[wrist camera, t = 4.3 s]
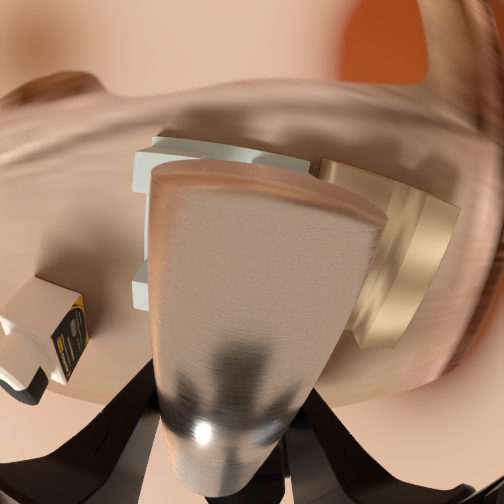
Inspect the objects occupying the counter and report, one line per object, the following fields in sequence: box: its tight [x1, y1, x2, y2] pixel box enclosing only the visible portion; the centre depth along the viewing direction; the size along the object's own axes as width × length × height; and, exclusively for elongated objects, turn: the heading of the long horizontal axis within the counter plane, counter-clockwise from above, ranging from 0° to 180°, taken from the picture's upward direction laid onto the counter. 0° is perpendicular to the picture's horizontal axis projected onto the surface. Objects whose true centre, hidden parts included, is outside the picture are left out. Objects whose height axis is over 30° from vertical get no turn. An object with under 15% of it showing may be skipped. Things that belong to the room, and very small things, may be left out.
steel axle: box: [147, 159, 388, 497], centre depth 8 cm, size 14×4×4 cm, turn 170°
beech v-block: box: [317, 158, 461, 349], centre depth 20 cm, size 14×11×4 cm
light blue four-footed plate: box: [132, 136, 315, 311], centre depth 19 cm, size 13×11×4 cm
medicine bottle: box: [0, 277, 89, 405], centre depth 19 cm, size 7×7×12 cm
